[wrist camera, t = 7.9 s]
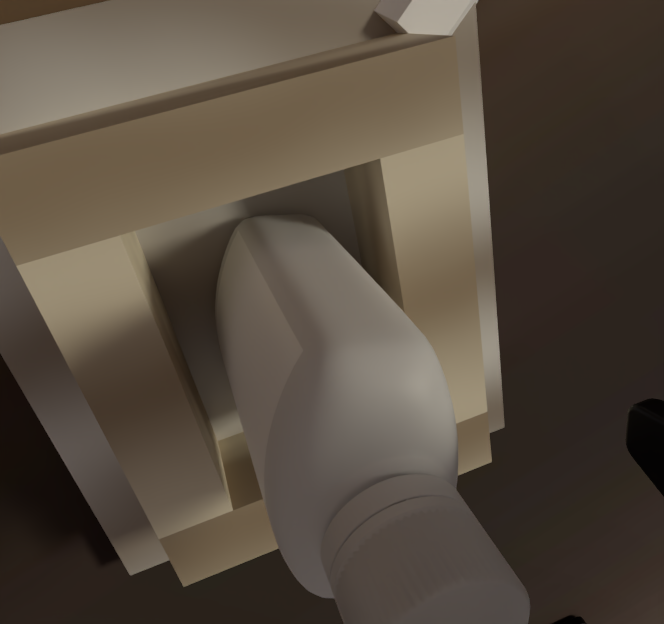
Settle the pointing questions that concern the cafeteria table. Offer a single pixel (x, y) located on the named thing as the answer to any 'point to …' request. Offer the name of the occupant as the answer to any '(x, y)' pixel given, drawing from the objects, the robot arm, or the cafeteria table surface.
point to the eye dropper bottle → (352, 434)
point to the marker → (424, 15)
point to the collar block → (223, 233)
